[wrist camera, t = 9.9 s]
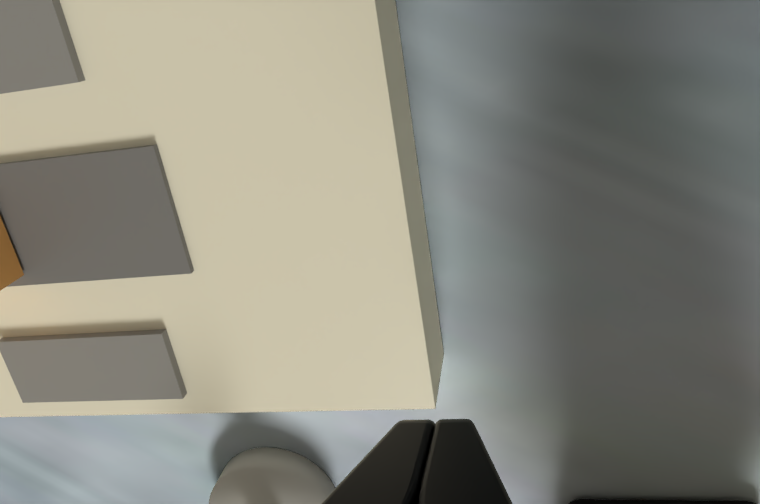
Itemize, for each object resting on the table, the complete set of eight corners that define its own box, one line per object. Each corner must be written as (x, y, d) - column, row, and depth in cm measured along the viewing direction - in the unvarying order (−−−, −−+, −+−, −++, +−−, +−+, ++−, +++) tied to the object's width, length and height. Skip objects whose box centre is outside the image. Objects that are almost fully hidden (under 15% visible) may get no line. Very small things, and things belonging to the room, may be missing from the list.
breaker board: (380, -105, 17) (354, -118, 14) (443, 354, 22) (434, 415, 19) (-260, 22, 22) (-380, 33, 19) (-81, 373, 27) (-153, 424, 24)
